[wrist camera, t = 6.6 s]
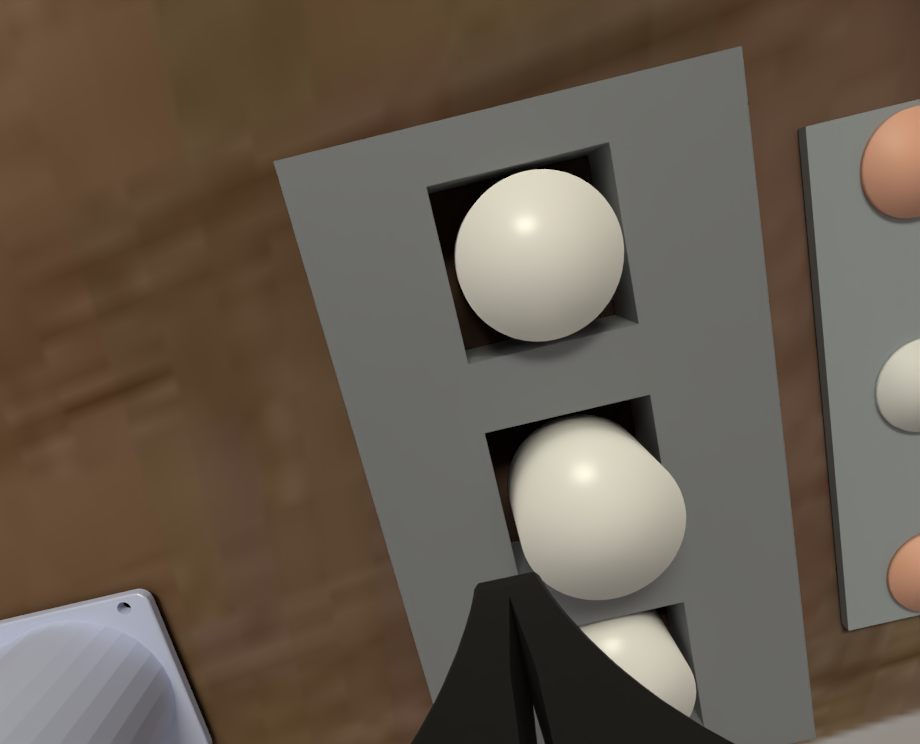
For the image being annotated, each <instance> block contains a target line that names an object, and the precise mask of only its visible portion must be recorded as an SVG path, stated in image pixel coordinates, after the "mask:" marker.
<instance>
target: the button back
mask: <svg viewBox="0 0 920 744" xmlns="http://www.w3.org/2000/svg"><path fill="white" fill-rule="evenodd" d="M578 627H579V628H580V629H581V630H582V631H583V632H584V633H585V634H586V635H587V636H588V637H589V638H590V639H591V640H592V641H593V642H594V643H595V644H596V645H597V646H598V647H599V648H600V649H601V650H602V651H603V652H604V653H605V654H606V655H607V656H608V657H609V658H610V659H612V660H613V661H614V662H615V663H616V664H617V665H618V666H620V667H621V668H622V669H623V670H624V671H625V672H627V673H628V674H629V675H630V676H632V677H633V678H634V679H635V680H637V681H638V682H639V683H640V684H642V685H643V686H644V687H646V688H647V689H648V690H650V691H651V692H652V693H654V694H655V695H656V696H658V697H659V698H660V699H662V700H663V701H665V702H666V703H668V704H669V705H671V706H672V707H674V708H675V709H677V710H679V711H680V712H682V713H683V714H685V715H686V716H688V717H690V715H691V713H692V711H693V708H694V704H695V700H696V683H695V679H694V676H693V673H692V671H691V669H690V667H689V666H688V664H687V662H686V660H685V659H684V657H683V655H682V654H681V652H680V650H679V648H678V647H677V645H676V643H675V642H674V640H673V638H672V637H671V635H670V633H669V631H668V630H667V628H666V626H665V625H664V623H663V621H662V619H661V618H660V616H659V614H658V613H657V611H656V609H650V610H646V611H642V612H637V613H633V614H628V615H624V616H619V617H615V618H611V619H606V620H602V621H597V622H593V623H588V624H584V625H579V626H578Z"/></svg>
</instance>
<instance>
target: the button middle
mask: <svg viewBox="0 0 920 744" xmlns="http://www.w3.org/2000/svg"><path fill="white" fill-rule="evenodd" d="M507 490H508V496H509V500H510V504H511V508H512V512H513V516H514V519H515V523H516V527H517V531H518V535H519V538H520V542H521V546H522V549H523V552H524V555H525V557H526V559H527V561H528V563H529V565H530V566H531V568H532V569H533V571H534V572H535V573H537V574H538V575H540V577H541V579H542V580H543V581H544V582H545V583H546V584H547V585H549V586H550V587H552V588H553V589H555V590H557V591H559V592H561V593H563V594H565V595H568V596H572V597H575V598H580V599H585V600H608V599H614V598H619V597H622V596H626V595H629V594H631V593H633V592H636V591H638V590H640V589H642V588H643V587H645V586H647V585H648V584H650V583H651V582H652V581H654V580H655V579H656V578H657V577H659V576H660V575H661V574H662V573H663V572H664V571H665V570H666V568H667V567H668V566H669V565H670V564H671V562H672V561H673V559H674V558H675V556H676V554H677V552H678V550H679V548H680V546H681V543H682V540H683V537H684V533H685V528H686V509H685V504H684V499H683V496H682V493H681V491H680V488H679V487H678V485H677V483H676V481H675V480H674V478H673V477H672V476H671V475H670V473H669V472H668V471H667V470H666V469H665V468H664V467H663V466H662V465H661V464H660V463H659V462H658V461H657V460H656V459H655V458H654V457H653V456H652V455H651V454H650V453H649V452H648V451H647V450H646V449H645V448H644V447H643V446H642V445H641V444H640V443H639V442H638V441H637V440H636V439H635V438H634V437H633V436H632V435H631V434H630V433H629V432H628V431H627V430H626V429H624V428H623V427H622V426H620V425H619V424H617V423H615V422H613V421H611V420H609V419H606V418H604V417H600V416H596V415H589V414H573V415H567V416H563V417H559V418H556V419H554V420H551V421H549V422H547V423H545V424H543V425H542V426H540V427H538V428H537V429H536V430H534V431H533V432H532V433H531V434H530V435H529V436H528V437H527V438H526V439H525V440H524V441H523V442H522V443H521V445H520V446H519V447H518V449H517V451H516V453H515V454H514V456H513V459H512V461H511V464H510V467H509V471H508V478H507Z"/></svg>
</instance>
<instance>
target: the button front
mask: <svg viewBox="0 0 920 744" xmlns="http://www.w3.org/2000/svg"><path fill="white" fill-rule="evenodd" d="M623 263H624V243H623V236H622V232H621V227H620V225H619V222H618V219H617V217H616V215H615V213H614V211H613V209H612V207H611V206H610V205H609V203H608V202H607V200H606V199H605V198H604V197H603V196H602V195H601V194H600V193H599V191H598V190H596V189H595V188H594V187H593V186H591V185H590V184H589V183H587V182H586V181H584V180H582V179H581V178H579V177H577V176H574V175H572V174H569V173H566V172H562V171H558V170H550V169H534V170H528V171H523V172H520V173H517V174H513V175H511V176H509V177H507V178H505V179H502V180H501V181H499V182H498V183H496V184H495V185H493V186H492V187H490V188H489V189H488V190H487V191H486V192H485V193H483V194H482V196H481V197H480V198H479V199H478V200H477V201H476V202H475V203H474V205H473V206H472V207H471V209H470V210H469V211H468V213H467V214H466V216H465V217H464V219H463V221H462V223H461V225H460V227H459V230H458V233H457V236H456V240H455V246H454V266H455V272H456V276H457V279H458V282H459V284H460V287H461V289H462V291H463V293H464V295H465V298H466V300H467V301H468V303H469V304H470V306H471V308H472V309H473V310H474V311H475V313H476V314H477V315H478V316H479V317H480V318H481V319H482V320H483V321H484V322H485V323H486V324H488V325H489V326H491V327H492V328H493V329H495V330H497V331H498V332H500V333H502V334H504V335H507V336H509V337H512V338H515V339H520V340H524V341H534V342H538V341H550V340H556V339H559V338H563V337H566V336H568V335H571V334H573V333H575V332H577V331H579V330H580V329H582V328H584V327H585V326H587V325H588V324H589V323H590V322H592V321H593V320H594V319H595V318H596V317H597V316H598V315H599V314H600V313H601V312H602V311H603V310H604V308H605V307H606V306H607V304H608V303H609V302H610V300H611V298H612V296H613V295H614V293H615V291H616V288H617V286H618V284H619V281H620V277H621V274H622V269H623Z"/></svg>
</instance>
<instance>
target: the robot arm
mask: <svg viewBox="0 0 920 744" xmlns="http://www.w3.org/2000/svg"><path fill="white" fill-rule="evenodd" d="M123 602H125V603H127V604H129V605H130V607H131V608H128V607H126V606H125V605H124V604H123ZM533 706H534V707H533ZM534 709H535V713H536V716H537V719H538V723H539V726H540V729H541V733H542V736H543V739H544V743H545V744H734V743H732V742H730V741H729V740H727V739H725V738H723V737H721V736H720V735H718V734H716V733H714V732H712V731H711V730H709V729H707V728H705V727H704V726H702V725H700V724H699V723H697V722H696V721H694V720H693V719H691V718H689V717H688V716H686V715H685V714H683V713H682V712H680V711H679V710H677V709H675V708H674V707H672V706H671V705H669V704H668V703H666V702H665V701H663V700H662V699H660V698H659V697H658V696H656V695H655V694H654V693H652V692H651V691H650V690H648V689H647V688H646V687H644V686H643V685H642V684H640V683H639V682H638V681H637V680H635V679H634V678H633V677H632V676H630V675H629V674H628V673H627V672H625V671H624V670H623V669H622V668H621V667H620V666H618V665H617V664H616V663H615V662H614V661H613V660H612V659H610V658H609V657H608V656H607V655H606V654H605V653H604V652H603V651H602V650H601V649H600V648H599V647H598V646H597V645H596V644H595V643H594V642H593V641H592V640H591V639H590V638H589V637H588V636H587V635H586V634H585V633H584V632H583V631H582V630H581V629H580V628H579V627H578V626H577V624H576V623H575V622H574V621H573V620H572V619H571V618H570V617H569V616H568V614H567V613H566V612H565V611H564V610H563V608H562V607H561V606H560V605H559V603H558V602H557V601H556V600H555V598H554V597H553V596H552V594H551V593H550V592H549V590H548V589H547V587H546V586H545V584H544V582H543V581H542V579H541V577H540V575H538V574H537V573H535V572H529V573H525V574H520V575H515V576H510V577H506V578H501V579H496V580H491V581H487V582H482V583H478V584H477V586H476V587H475V589H474V595H473V600H472V605H471V609H470V613H469V616H468V620H467V623H466V626H465V629H464V632H463V635H462V638H461V641H460V644H459V647H458V650H457V652H456V655H455V658H454V660H453V662H452V665H451V667H450V669H449V672H448V674H447V676H446V679H445V681H444V683H443V686H442V688H441V690H440V692H439V694H438V696H437V698H436V700H435V702H434V704H433V706H432V708H431V710H430V712H429V713H428V715H427V717H426V719H425V721H424V723H423V724H422V726H421V728H420V730H419V731H418V733H417V734H416V736H415V738H414V739H413V741H412V743H411V744H537V735H536V726H535V717H534ZM0 744H212V738H211V736H210V734H209V731H208V729H207V726H206V724H205V721H204V719H203V717H202V714H201V712H200V709H199V707H198V704H197V702H196V700H195V697H194V695H193V692H192V690H191V687H190V685H189V683H188V680H187V678H186V675H185V673H184V670H183V668H182V666H181V663H180V661H179V658H178V656H177V653H176V651H175V649H174V646H173V644H172V641H171V639H170V636H169V634H168V632H167V629H166V627H165V624H164V622H163V619H162V617H161V615H160V612H159V610H158V607H157V605H156V602H155V600H154V598H153V596H152V594H151V593H150V592H148V591H147V590H144V589H134V590H130V591H126V592H121V593H117V594H113V595H108V596H104V597H100V598H95V599H91V600H87V601H82V602H78V603H74V604H69V605H65V606H61V607H56V608H52V609H48V610H43V611H39V612H35V613H30V614H26V615H22V616H17V617H13V618H9V619H4V620H0Z"/></svg>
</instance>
